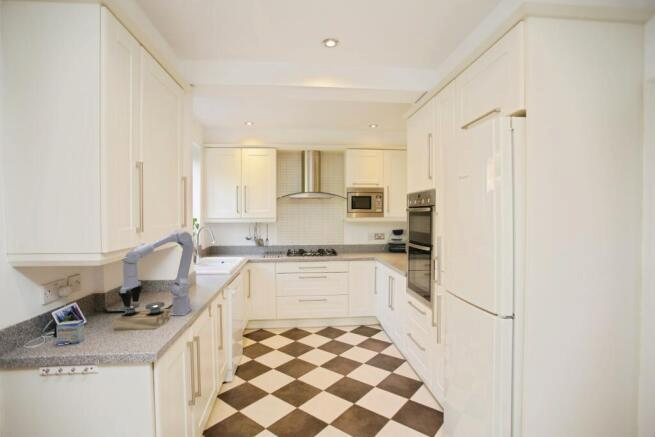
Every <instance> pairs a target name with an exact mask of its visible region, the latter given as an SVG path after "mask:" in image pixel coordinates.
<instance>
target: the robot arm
mask: <svg viewBox="0 0 655 437" xmlns="http://www.w3.org/2000/svg"><path fill="white" fill-rule="evenodd" d="M168 243H177V244H179V246H180V247H181V249H182V252H181V256H180V260H179V266H178V270H177V275H176V278H175V279H174V280H173V284H172V285H171V287H170V289H169V291H170V293H171V294H172V312H171V313H170V316H185V315H187V314H188V313H189V312H191V311H192V310H193V308H191V298H190V296H189V292H190V288H189V285H190V283H189V280H188V278H189V272H190V269H191V263H192V259H193V255H194V250H195V249H194V248H195V245H194V241H193V236H192V234H191V233H189V231H187V230H179V229H178V230H175V231H172V232H169V233H167V234H166V235H164V236H161V237H160V238H158V239H157V240H154V241H152V242H141V244H140V245H138V246H136V247H132V248H133V249H132V251H131V250H128V251H129V252H128V253H127V254H126V256H125V257H127V258H124V259H121V261H122V263H123V264H122V268H123V269H122V273H123V274H122V276H123V284H122V285H121V287H120V289H119V290H120V291H119V292H118V296H119V297H120V299H121V300H122V303H123V305H124V306H125V307H129V306H130V304H131V303H139V300H140V295H141V292H142V290H143V288H144V286H143V285H142V281H139V278H138V261H139V259H142V258H144V257H146V256H149V255H150V254H152V253H154V251H155V249H157V248H159V247H162V246H164V245H166V244H168ZM131 301H132V302H131Z"/></svg>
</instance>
